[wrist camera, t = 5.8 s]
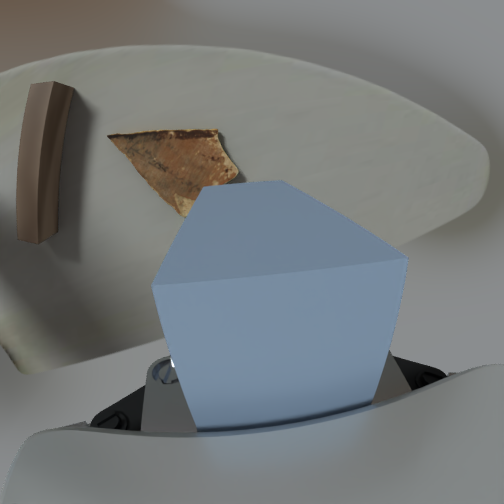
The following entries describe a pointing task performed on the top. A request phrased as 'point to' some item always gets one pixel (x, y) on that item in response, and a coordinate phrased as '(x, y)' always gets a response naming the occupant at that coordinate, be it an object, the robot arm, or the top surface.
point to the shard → (177, 162)
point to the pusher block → (276, 307)
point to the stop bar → (41, 160)
